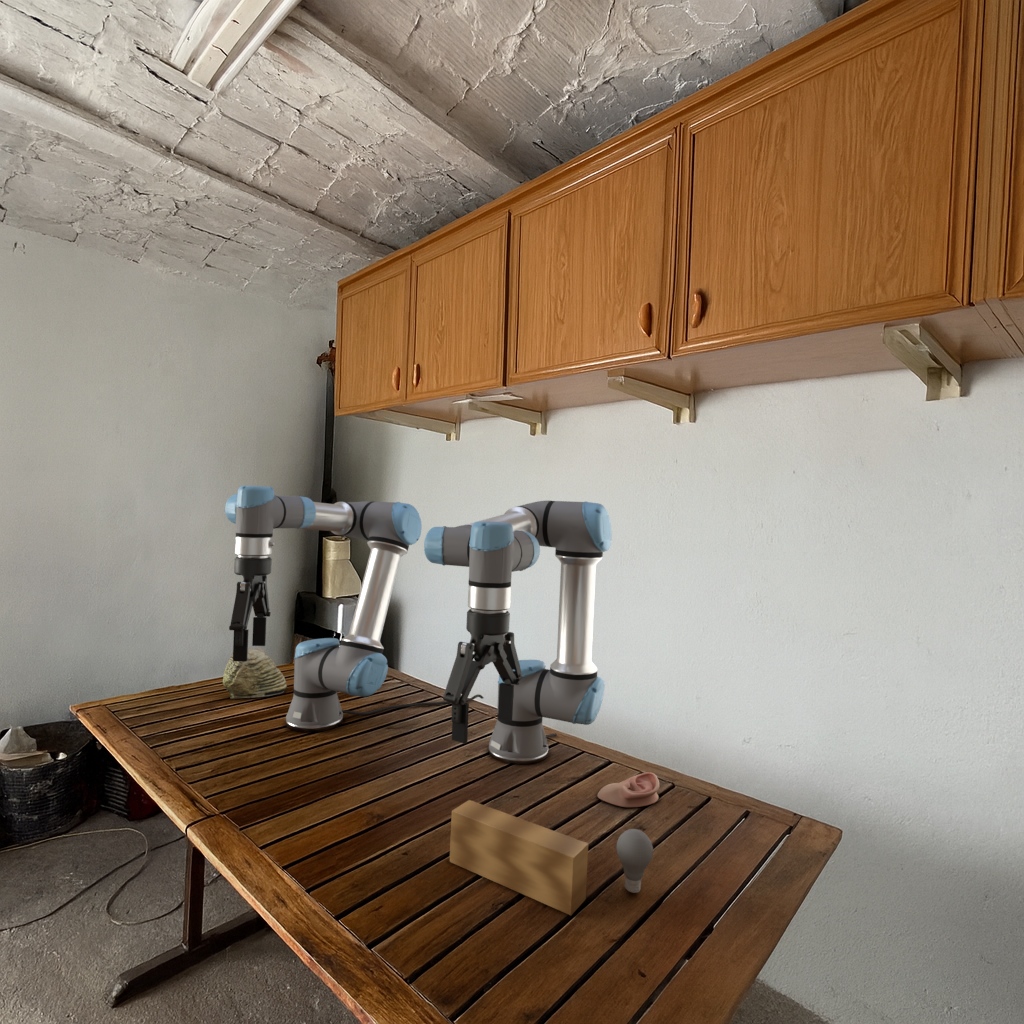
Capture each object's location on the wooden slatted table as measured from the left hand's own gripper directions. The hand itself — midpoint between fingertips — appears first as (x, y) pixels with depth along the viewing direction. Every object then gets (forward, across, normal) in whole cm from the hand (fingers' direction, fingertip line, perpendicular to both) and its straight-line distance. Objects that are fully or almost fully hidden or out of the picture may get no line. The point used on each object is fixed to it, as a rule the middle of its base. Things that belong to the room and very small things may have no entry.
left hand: (249, 653), depth 139 cm
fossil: (+28, +61, +15) cm, 69 cm away
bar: (+28, -38, -55) cm, 73 cm away
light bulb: (+28, -42, -75) cm, 90 cm away
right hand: (+5, -33, -49) cm, 60 cm away
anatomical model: (+28, -9, -84) cm, 89 cm away
